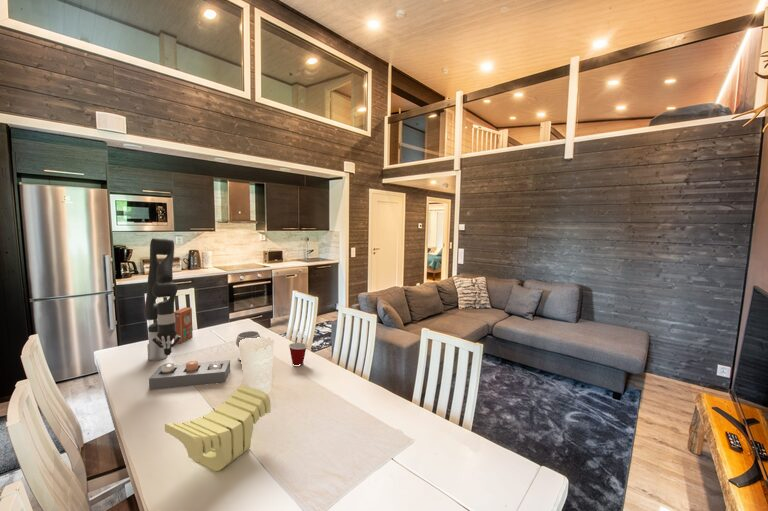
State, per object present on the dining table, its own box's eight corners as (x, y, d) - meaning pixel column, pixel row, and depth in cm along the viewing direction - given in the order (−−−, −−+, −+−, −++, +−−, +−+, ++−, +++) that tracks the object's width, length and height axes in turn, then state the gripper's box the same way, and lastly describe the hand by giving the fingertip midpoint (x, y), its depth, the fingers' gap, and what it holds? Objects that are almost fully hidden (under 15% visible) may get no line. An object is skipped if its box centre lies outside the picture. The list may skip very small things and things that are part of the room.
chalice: (233, 363, 193) (233, 338, 192) (239, 354, 207) (238, 331, 205) (258, 362, 196) (258, 337, 194) (262, 353, 209) (262, 330, 208)
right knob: (208, 377, 172) (208, 368, 171) (210, 373, 177) (210, 364, 177) (220, 376, 173) (219, 367, 173) (222, 372, 179) (222, 363, 178)
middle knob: (184, 375, 168) (184, 365, 168) (187, 370, 174) (187, 361, 173) (196, 374, 170) (196, 364, 170) (199, 369, 175) (199, 360, 175)
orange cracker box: (194, 336, 236) (181, 343, 221) (185, 336, 236) (171, 343, 221) (193, 307, 234) (180, 312, 219) (184, 306, 234) (170, 312, 219)
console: (149, 390, 161) (148, 378, 160) (160, 376, 175) (160, 365, 174) (225, 382, 170) (225, 371, 169) (230, 370, 184) (229, 360, 184)
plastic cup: (310, 366, 193) (310, 346, 191) (292, 370, 186) (292, 349, 185) (303, 359, 201) (303, 340, 200) (286, 363, 195) (286, 343, 194)
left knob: (159, 377, 165) (159, 368, 165) (164, 372, 171) (163, 363, 170) (172, 376, 167) (172, 366, 166) (176, 371, 172) (175, 362, 172)
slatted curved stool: (198, 492, 101) (196, 438, 100) (166, 474, 108) (164, 423, 107) (270, 437, 128) (270, 393, 127) (241, 425, 135) (241, 384, 134)
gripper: (183, 319, 172) (184, 351, 173) (154, 320, 168) (155, 353, 170) (178, 323, 165) (180, 356, 166) (148, 324, 161) (150, 359, 162)
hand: (167, 354), depth 168 cm, fingers closed
